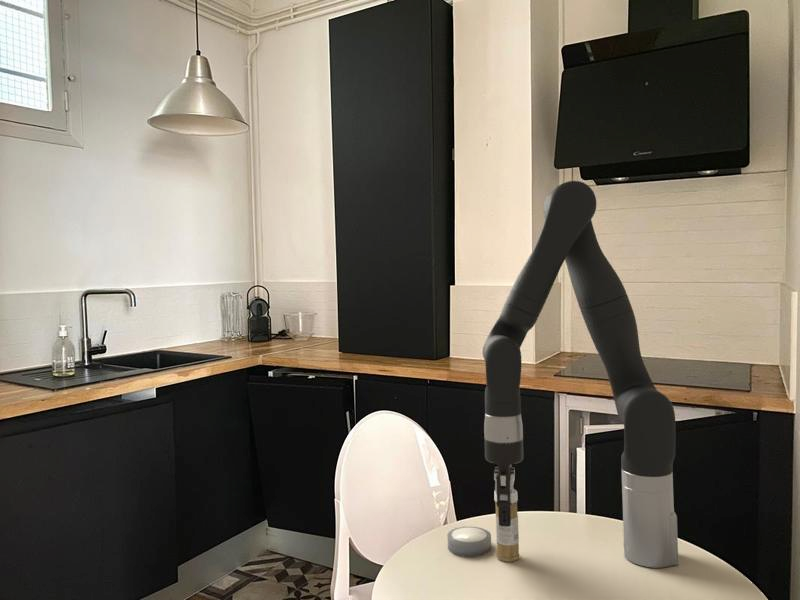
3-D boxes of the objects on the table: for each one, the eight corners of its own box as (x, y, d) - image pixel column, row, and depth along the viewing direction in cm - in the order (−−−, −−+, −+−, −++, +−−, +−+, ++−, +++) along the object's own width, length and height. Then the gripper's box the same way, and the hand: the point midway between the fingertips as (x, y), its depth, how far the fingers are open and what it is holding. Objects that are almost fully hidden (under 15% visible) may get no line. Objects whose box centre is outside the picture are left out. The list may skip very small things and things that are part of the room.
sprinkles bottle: (506, 550, 125) (504, 485, 124) (524, 557, 121) (522, 490, 121) (491, 557, 122) (489, 490, 121) (509, 565, 118) (506, 496, 118)
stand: (492, 539, 130) (492, 526, 130) (490, 557, 122) (489, 544, 122) (450, 537, 132) (450, 525, 132) (445, 555, 123) (444, 542, 123)
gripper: (522, 446, 113) (524, 532, 114) (523, 428, 127) (525, 505, 127) (481, 445, 115) (484, 530, 115) (486, 427, 129) (488, 503, 129)
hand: (505, 517), depth 121 cm, fingers open, 8 cm apart
